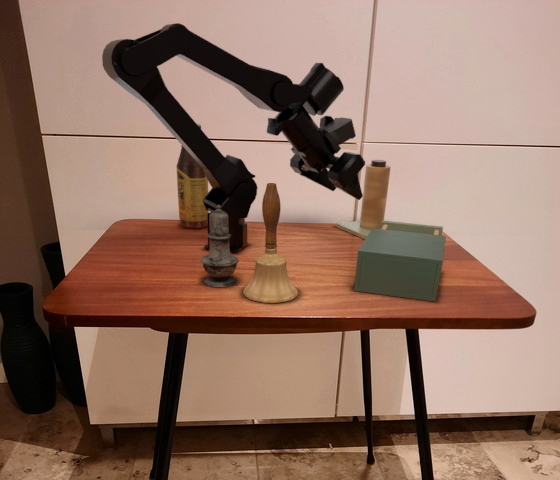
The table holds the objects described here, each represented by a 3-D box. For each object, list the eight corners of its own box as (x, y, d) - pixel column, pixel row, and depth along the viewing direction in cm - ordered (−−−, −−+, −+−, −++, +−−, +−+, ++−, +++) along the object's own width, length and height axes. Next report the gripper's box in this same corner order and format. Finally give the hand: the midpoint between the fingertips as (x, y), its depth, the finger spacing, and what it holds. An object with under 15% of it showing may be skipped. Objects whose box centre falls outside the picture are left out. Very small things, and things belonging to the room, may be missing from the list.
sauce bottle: (180, 222, 118) (174, 121, 109) (209, 222, 119) (206, 122, 109) (178, 230, 113) (172, 124, 103) (209, 230, 113) (206, 125, 104)
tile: (365, 239, 111) (366, 235, 111) (335, 226, 119) (336, 223, 119) (407, 234, 116) (408, 230, 115) (376, 222, 124) (376, 219, 124)
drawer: (381, 239, 108) (384, 215, 106) (439, 246, 106) (443, 221, 103) (368, 265, 94) (372, 237, 91) (435, 273, 91) (440, 245, 89)
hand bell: (242, 302, 79) (242, 188, 71) (244, 283, 86) (244, 177, 78) (299, 304, 79) (305, 190, 71) (296, 284, 86) (301, 179, 79)
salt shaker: (233, 289, 83) (232, 209, 78) (196, 285, 84) (193, 206, 79) (242, 277, 88) (242, 201, 83) (208, 273, 89) (205, 198, 84)
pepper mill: (366, 230, 114) (374, 162, 108) (355, 224, 118) (362, 159, 112) (387, 229, 116) (395, 162, 109) (375, 223, 120) (383, 158, 114)
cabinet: (367, 264, 97) (371, 228, 94) (439, 272, 94) (445, 235, 91) (353, 290, 85) (358, 250, 82) (435, 301, 82) (443, 260, 79)
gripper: (362, 104, 93) (403, 170, 103) (306, 98, 107) (347, 156, 117) (320, 155, 93) (364, 215, 104) (269, 142, 108) (313, 196, 118)
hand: (347, 193), depth 111 cm, fingers open, 9 cm apart
